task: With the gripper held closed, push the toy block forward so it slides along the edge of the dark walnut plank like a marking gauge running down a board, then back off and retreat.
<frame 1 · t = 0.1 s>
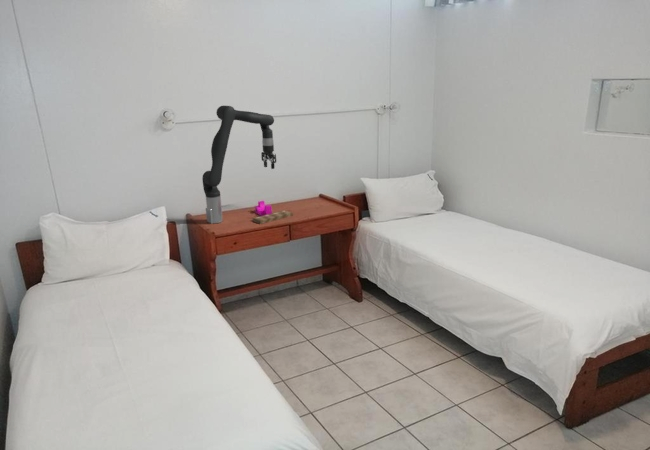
hand: (269, 167, 325), 29 cm above the table, fingers open, 8 cm apart
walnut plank: (272, 218, 310), on the table
toy block: (263, 214, 320), on the table
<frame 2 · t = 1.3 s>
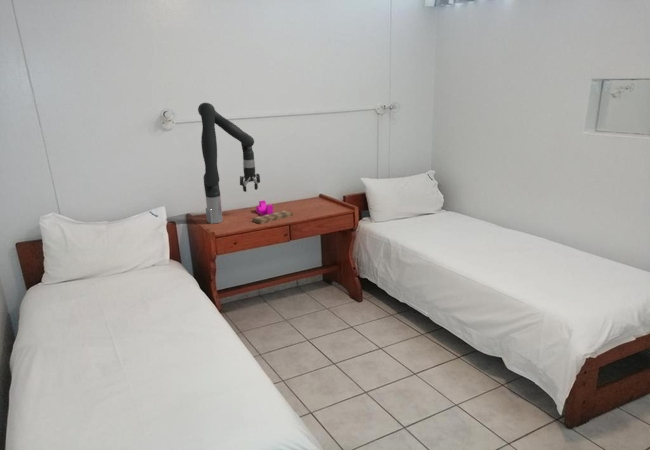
hand: (250, 190, 309), 18 cm above the table, fingers open, 8 cm apart
toy block: (264, 214, 321), on the table
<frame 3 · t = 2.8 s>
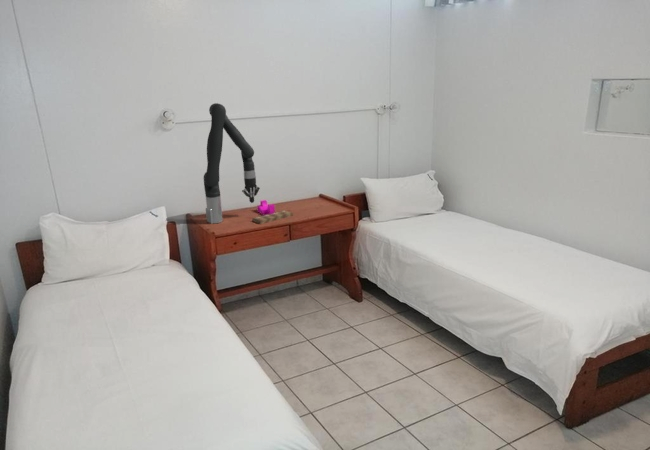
hand: (252, 202, 312), 10 cm above the table, fingers closed
toy block: (266, 213, 322), on the table
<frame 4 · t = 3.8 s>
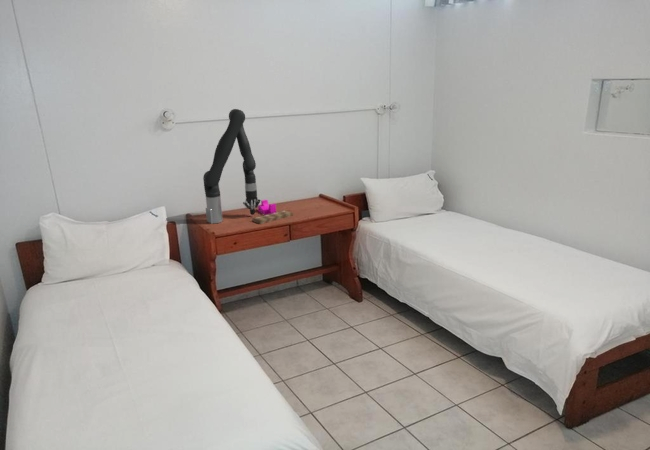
hand: (252, 214, 314), 2 cm above the table, fingers closed
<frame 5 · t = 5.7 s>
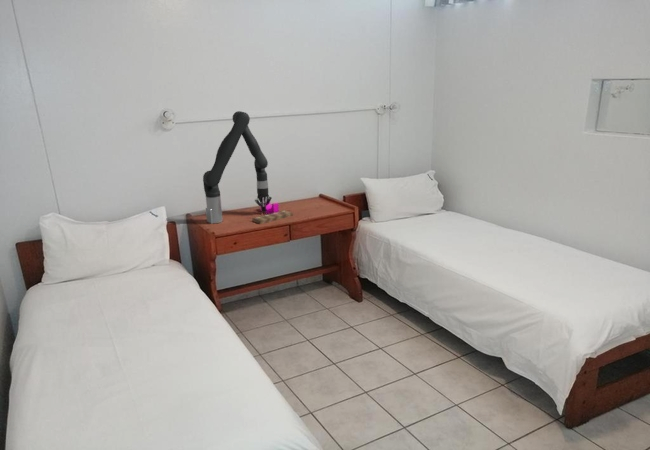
hand: (264, 211, 320), 2 cm above the table, fingers closed
toy block: (269, 212, 324), on the table, touching gripper
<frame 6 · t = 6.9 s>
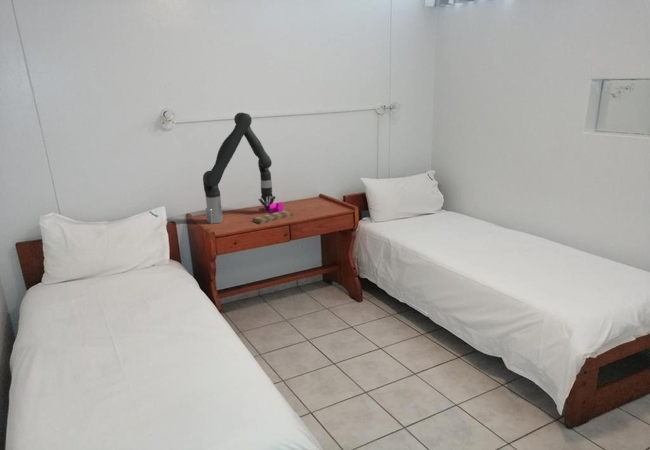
hand: (267, 210, 322), 2 cm above the table, fingers closed
toy block: (273, 211, 326), on the table
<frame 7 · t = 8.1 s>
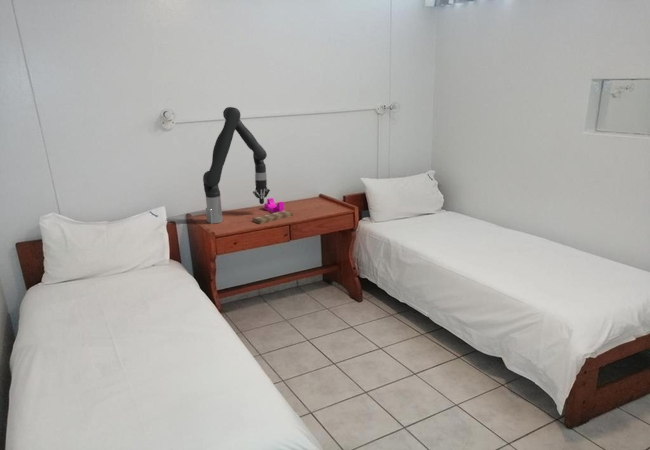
hand: (261, 203, 318), 7 cm above the table, fingers closed
toy block: (274, 211, 327), on the table
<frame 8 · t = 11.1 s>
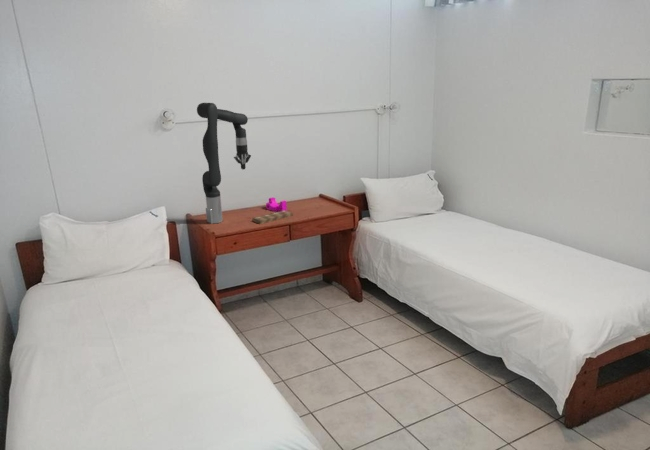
hand: (243, 169, 323), 29 cm above the table, fingers closed
toy block: (276, 210, 330), on the table
at the end: toy block inside the target area (3.5 cm from its centre), on the table; toy block tilted 0°; toy block moved 13.1 cm from its start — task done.
